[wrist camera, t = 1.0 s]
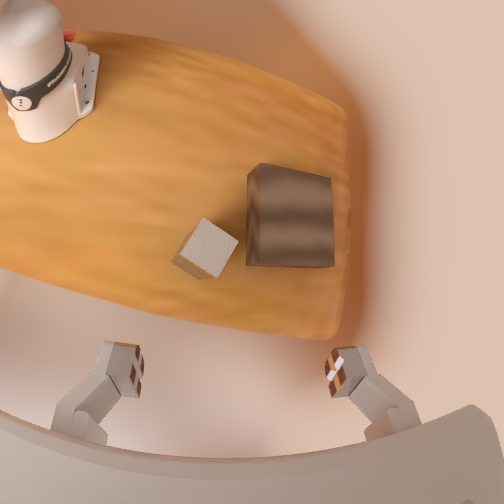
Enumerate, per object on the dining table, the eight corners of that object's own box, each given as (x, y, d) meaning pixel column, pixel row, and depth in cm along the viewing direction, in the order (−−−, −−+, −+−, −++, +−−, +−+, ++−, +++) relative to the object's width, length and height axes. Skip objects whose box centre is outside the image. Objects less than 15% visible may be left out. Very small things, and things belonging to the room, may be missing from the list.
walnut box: (246, 175, 50) (260, 163, 44) (312, 187, 55) (330, 178, 50) (245, 265, 48) (259, 262, 42) (315, 268, 53) (334, 266, 48)
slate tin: (170, 261, 43) (180, 253, 32) (187, 234, 45) (203, 217, 34) (197, 279, 44) (217, 277, 33) (214, 252, 46) (238, 241, 35)
